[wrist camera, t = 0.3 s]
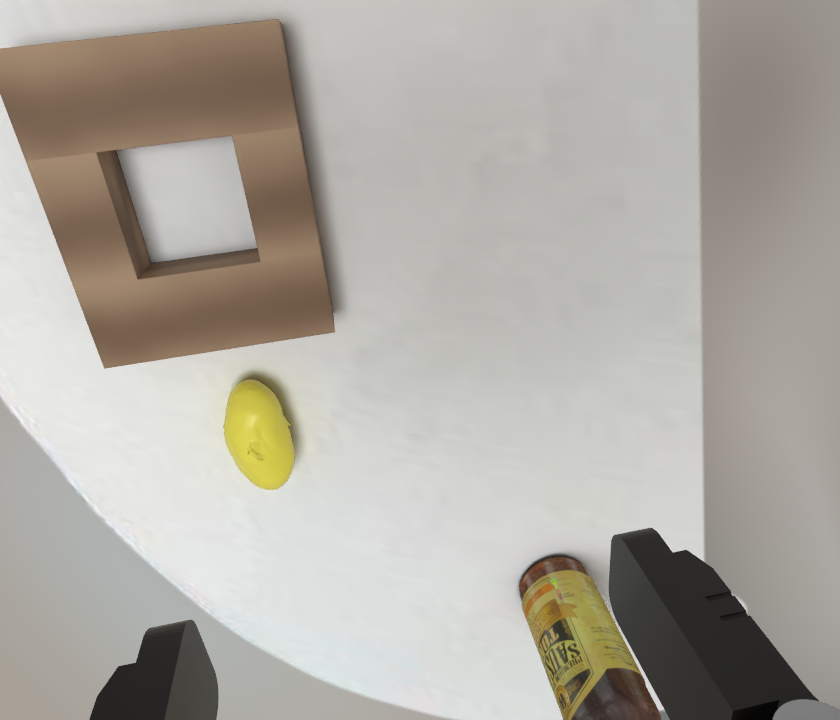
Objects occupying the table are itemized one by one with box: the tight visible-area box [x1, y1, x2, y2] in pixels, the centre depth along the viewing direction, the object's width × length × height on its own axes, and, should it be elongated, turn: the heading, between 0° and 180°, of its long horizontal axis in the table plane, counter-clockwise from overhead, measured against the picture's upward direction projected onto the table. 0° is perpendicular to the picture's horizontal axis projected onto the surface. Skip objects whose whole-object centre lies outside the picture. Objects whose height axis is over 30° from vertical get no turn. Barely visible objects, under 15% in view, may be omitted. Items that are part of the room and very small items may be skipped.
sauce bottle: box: [519, 557, 661, 720], centre depth 43 cm, size 7×6×20 cm
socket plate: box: [0, 19, 335, 368], centre depth 32 cm, size 16×13×3 cm
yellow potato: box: [223, 379, 295, 490], centre depth 39 cm, size 4×8×4 cm, turn 3°
